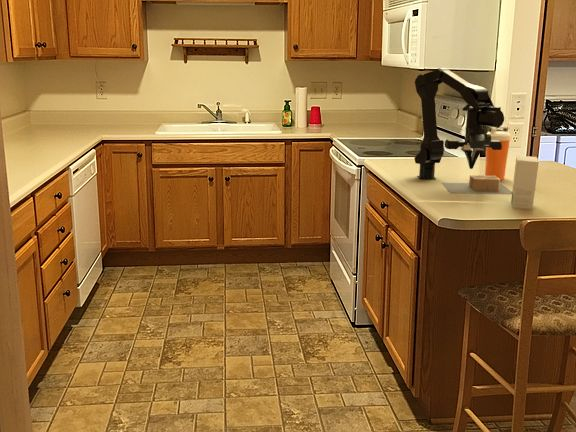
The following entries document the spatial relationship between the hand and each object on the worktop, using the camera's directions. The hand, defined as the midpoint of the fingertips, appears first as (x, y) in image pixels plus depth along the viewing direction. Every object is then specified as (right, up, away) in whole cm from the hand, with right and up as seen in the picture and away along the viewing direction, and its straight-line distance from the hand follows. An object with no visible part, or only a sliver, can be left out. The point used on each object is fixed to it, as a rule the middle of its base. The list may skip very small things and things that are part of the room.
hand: (471, 168), depth 228 cm
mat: (+3, -7, +2) cm, 8 cm away
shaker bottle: (+15, -3, +20) cm, 25 cm away
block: (+1, -5, +1) cm, 5 cm away
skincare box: (+10, -14, -22) cm, 28 cm away
